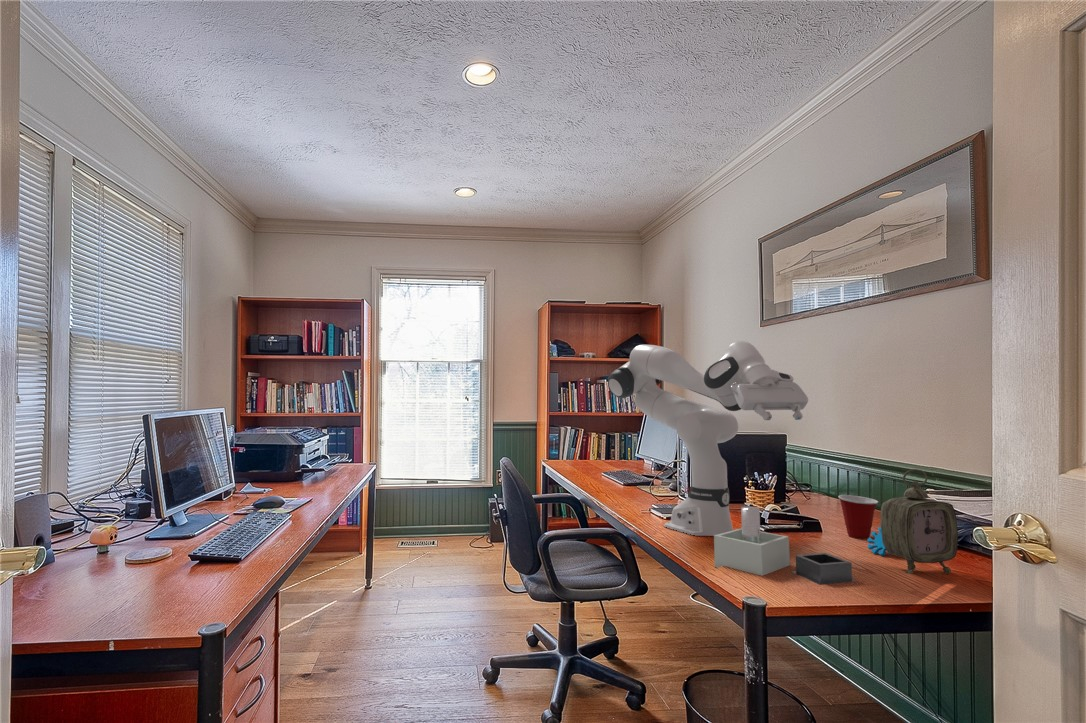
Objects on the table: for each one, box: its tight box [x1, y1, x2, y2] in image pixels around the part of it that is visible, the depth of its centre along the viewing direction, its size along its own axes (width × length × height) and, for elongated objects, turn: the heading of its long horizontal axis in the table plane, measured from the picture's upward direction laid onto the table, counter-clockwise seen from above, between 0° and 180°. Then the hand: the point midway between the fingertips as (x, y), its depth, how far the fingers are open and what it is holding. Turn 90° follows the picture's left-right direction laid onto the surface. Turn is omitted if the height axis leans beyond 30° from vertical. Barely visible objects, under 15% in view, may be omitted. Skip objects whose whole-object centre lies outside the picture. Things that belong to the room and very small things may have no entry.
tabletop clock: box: [880, 468, 959, 575], centre depth 139 cm, size 14×9×25 cm, turn 101°
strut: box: [740, 505, 761, 544], centre depth 143 cm, size 5×5×14 cm
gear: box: [866, 526, 892, 557], centre depth 155 cm, size 11×6×10 cm
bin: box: [713, 527, 791, 576], centre depth 143 cm, size 13×13×8 cm
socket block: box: [791, 552, 858, 586], centre depth 133 cm, size 10×10×5 cm
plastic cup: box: [837, 494, 879, 540], centre depth 174 cm, size 11×11×12 cm
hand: (784, 418), depth 152 cm, fingers open, 8 cm apart
